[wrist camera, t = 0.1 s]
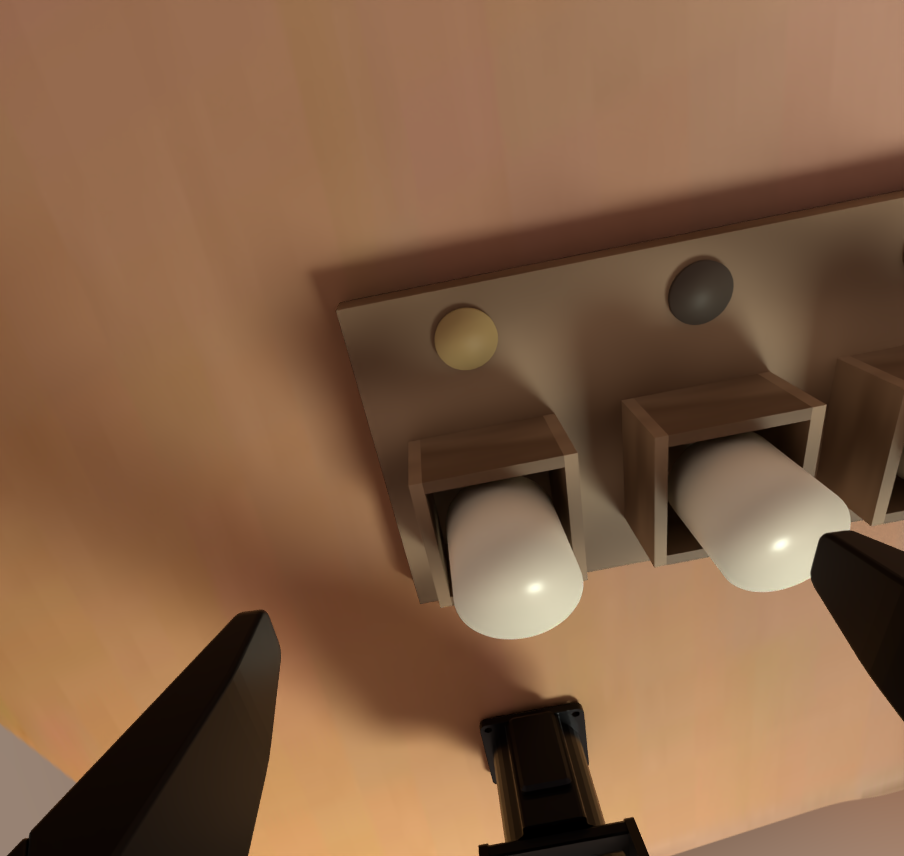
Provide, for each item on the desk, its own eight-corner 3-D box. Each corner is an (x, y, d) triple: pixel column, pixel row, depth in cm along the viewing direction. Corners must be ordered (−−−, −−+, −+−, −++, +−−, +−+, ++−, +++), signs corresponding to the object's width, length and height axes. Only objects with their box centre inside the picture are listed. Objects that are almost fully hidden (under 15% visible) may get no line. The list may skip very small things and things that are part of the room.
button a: (558, 551, 22) (586, 626, 19) (456, 570, 22) (465, 649, 19) (548, 464, 20) (578, 529, 16) (436, 486, 20) (442, 555, 17)
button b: (768, 511, 22) (838, 579, 18) (665, 530, 22) (715, 602, 18) (780, 419, 20) (862, 475, 16) (667, 441, 20) (723, 502, 16)
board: (938, 487, 27) (1032, 545, 23) (419, 586, 27) (421, 660, 23) (1039, 162, 20) (1200, 163, 16) (339, 302, 20) (322, 338, 16)
